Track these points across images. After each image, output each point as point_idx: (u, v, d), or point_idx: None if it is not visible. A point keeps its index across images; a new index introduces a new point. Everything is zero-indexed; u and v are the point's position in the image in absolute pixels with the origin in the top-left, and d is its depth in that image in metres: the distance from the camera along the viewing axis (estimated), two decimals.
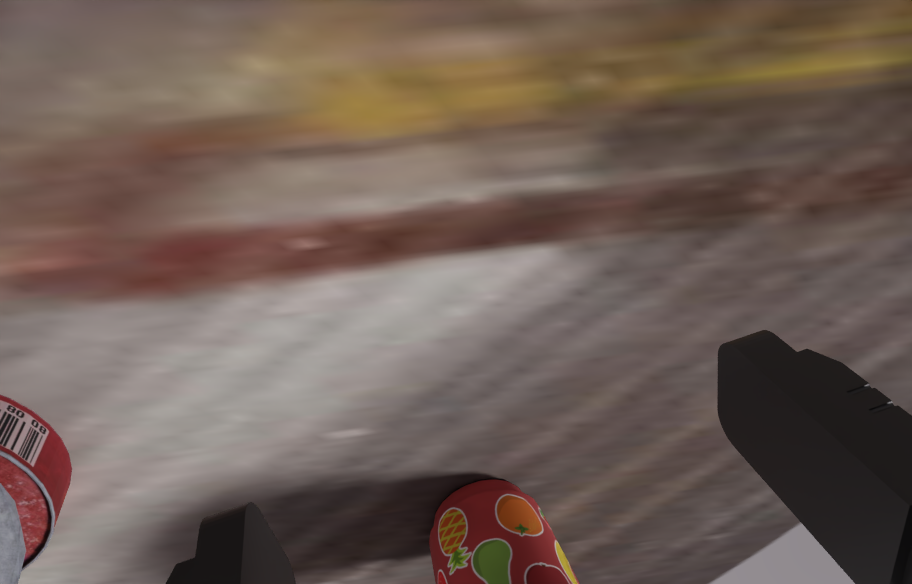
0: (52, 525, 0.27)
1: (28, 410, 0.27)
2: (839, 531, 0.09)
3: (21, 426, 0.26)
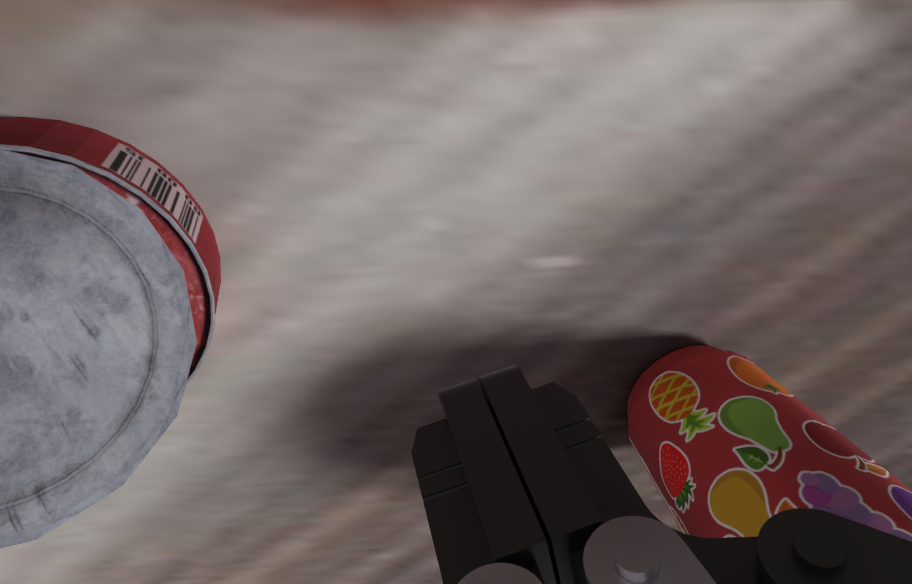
0: (209, 337, 0.20)
1: (179, 182, 0.20)
2: None
3: (176, 194, 0.19)
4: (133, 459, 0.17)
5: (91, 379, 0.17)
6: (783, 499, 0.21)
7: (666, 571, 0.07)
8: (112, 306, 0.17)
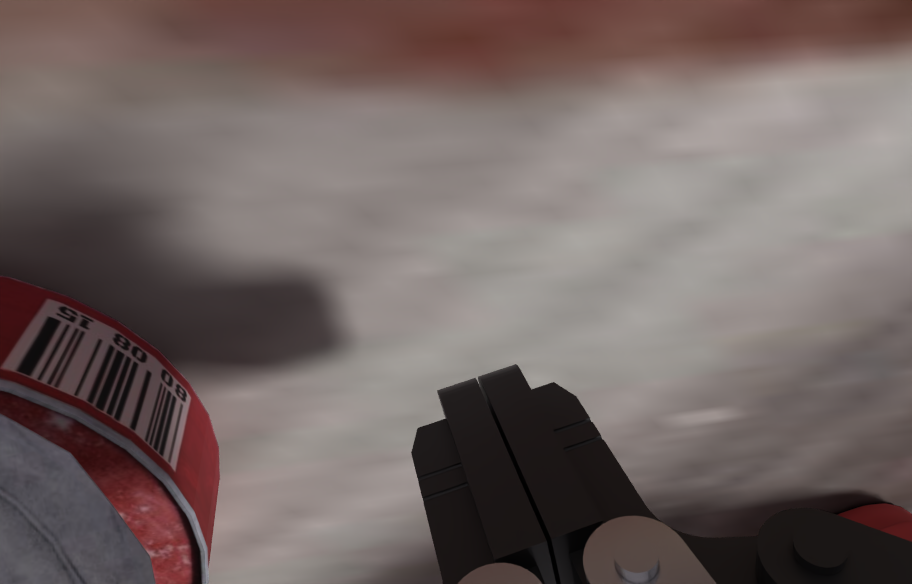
0: None
1: (153, 349, 0.13)
2: None
3: (144, 380, 0.12)
4: None
5: None
6: None
7: (666, 571, 0.07)
8: None
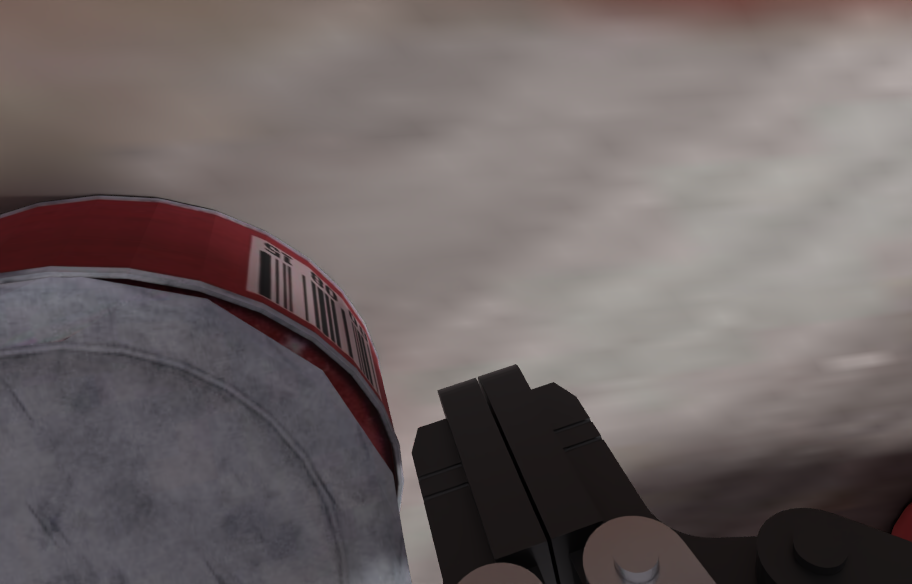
0: None
1: (337, 290, 0.13)
2: None
3: (342, 316, 0.12)
4: None
5: None
6: None
7: (666, 571, 0.07)
8: (271, 547, 0.09)
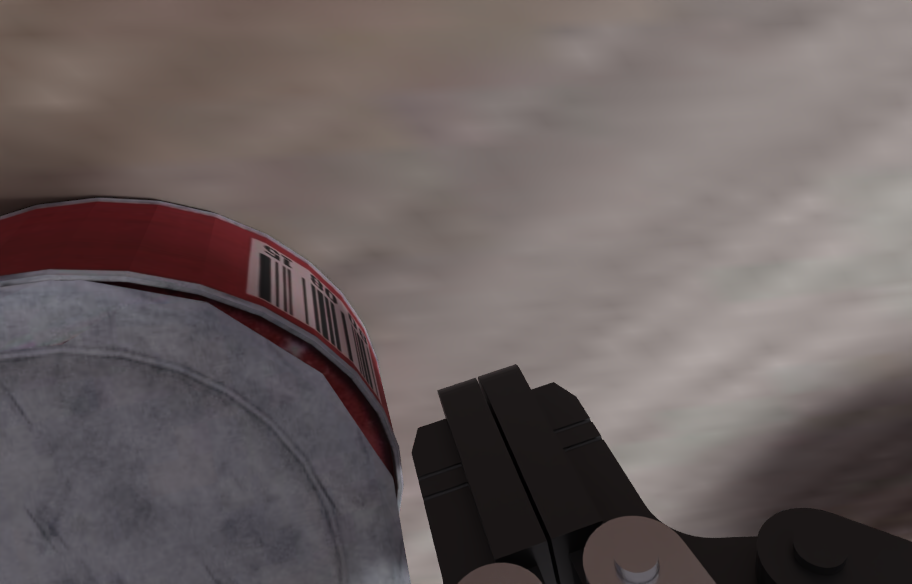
0: None
1: (337, 293, 0.13)
2: None
3: (342, 319, 0.12)
4: None
5: None
6: None
7: (666, 571, 0.07)
8: (271, 552, 0.09)
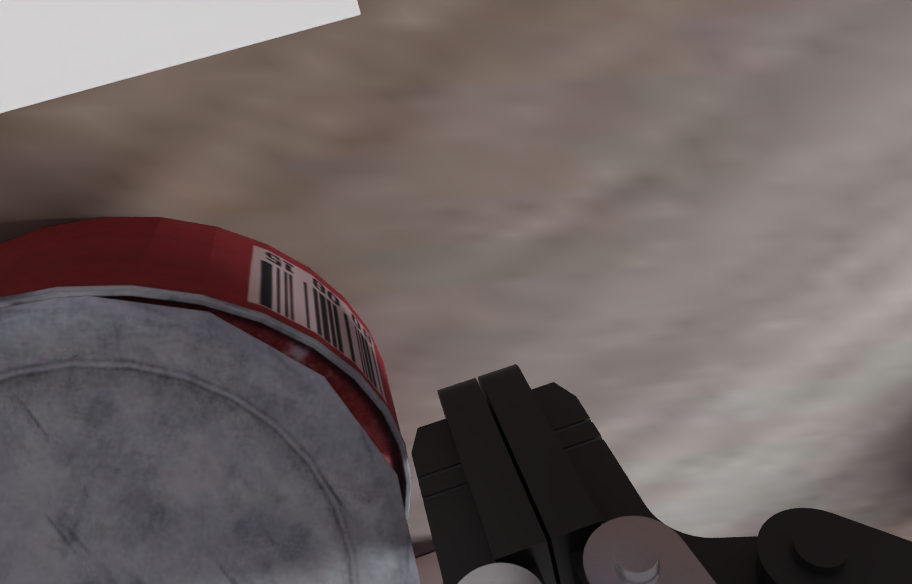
0: None
1: (340, 295, 0.13)
2: None
3: (344, 321, 0.12)
4: None
5: None
6: None
7: (666, 571, 0.07)
8: (281, 549, 0.10)
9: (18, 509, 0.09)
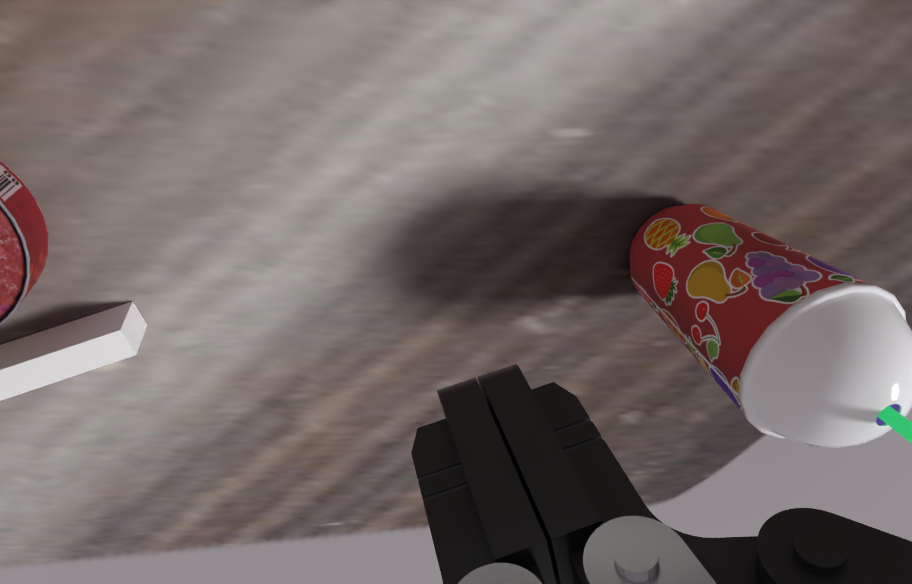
0: (27, 268, 0.29)
1: (1, 162, 0.29)
2: None
3: None
4: None
5: None
6: (735, 269, 0.31)
7: (666, 571, 0.07)
8: None
9: None
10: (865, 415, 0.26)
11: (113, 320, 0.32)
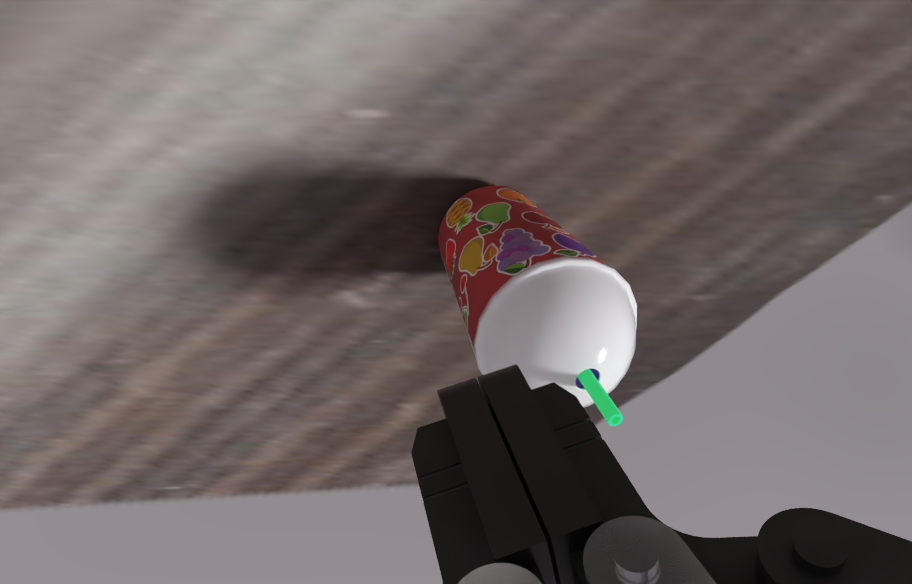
0: None
1: None
2: None
3: None
4: None
5: None
6: (490, 244, 0.32)
7: (666, 571, 0.07)
8: None
9: None
10: (564, 378, 0.28)
11: None
